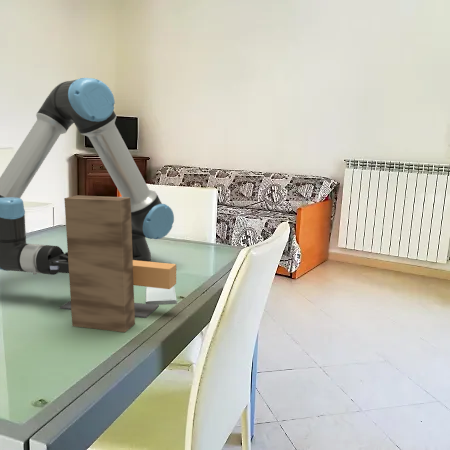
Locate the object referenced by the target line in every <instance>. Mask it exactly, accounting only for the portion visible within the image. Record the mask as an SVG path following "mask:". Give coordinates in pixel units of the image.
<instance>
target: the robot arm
mask: <svg viewBox="0 0 450 450" xmlns="http://www.w3.org/2000/svg"><path fill="white" fill-rule="evenodd" d="M115 102H116V101H115V97H114V94H113V91H112V90H111V88H110V87H109V86H108V84H106V83H104V82H103V81H102V80H100V79H98V78H92V77H80V78H78V79H73V80H65V81H63V82H60V83H59V84H57V85H56V86H55V87H54V88H53V89H52V90H51V91H50V93H49V94H48V96H47V97H46V98H45V100H44V101H43V103H42V105H41V106H40V108H39V109H38V111H37V112H36V114H35V117H36V121H35V122H34V124H33V126H32V127H31V129H30V130H29V132H28V133H27V135H26V136H25V138H24V140H23V141H22V142H21V144H20V146H19V148H18V149H17V150H16V152H15V153H14V155H13V157H12V158H11V159H10V161H9V162H8V164H7V166H6V167H5V169H4V170H3V172H2V174H1V175H0V270H2V271H7V272H9V271H10V272H23V273H32V274H33V275H34V276H35V275H37V274H43V275H51V276H52V275H57V274H60V273H61V274H69V264H68V251H67V252H64V251H63V250H62V248H61V247H60V246H59V245H50V244H49V245H48V244H37V243H27V233H26V215H25V214H26V210H25V206H24V200H23V199H22V198H21V197H22V196H23V194H24V193H25V191H26V189H27V188H28V186H29V185H30V183H31V182H32V180H33V178H34V176H36V174H37V173H38V170H39V169H40V168H41V166H42V165H43V163H44V161H45V160H46V158H47V157H48V155H49V153H50V152H51V150H52V149H53V147H54V145H55V144H56V142H57V141H58V140H59V137H60V136H61V135H62V134H66V133H67V131H68V130H69V128H70V127H71V126H72V125H73V124H74V125H75V127H76V128H77V131H78V132H79V134H80V135H82V136H86V137H87V138H88V139H89V141H90V142H91V145H92V146H93V148H94V149H95V151H96V153H97V155H98V157H99V158H100V160H101V162H102V164H103V165H104V167H105V169H106V171H107V172H108V174H109V176H110V177H111V179H112V181H113V183H114V185H115V186H116V188H117V191H118V192H119V194H120V195H121V197H128V198H131V226H132V254H133V260H137V261H148V262H151V259H152V254H151V253H152V252H151V250H150V247H149V244H148V242H147V239H150V240H151V239H152V240H160V239H163V238H165V237H166V236H167V235H168V234H169V233H170V232H171V230H172V228H173V224H174V221H175V216H174V212H173V209H172V208H171V207H170V206H169V205H168V204H166V203H162V201H161V200H160V197H159V195H158V193H157V192H156V191H155V190H151V189H149V186H148V185H147V183H146V181H145V179H144V177H143V175H142V173H141V172H140V170H139V167H138V166H137V164H136V162H135V160H134V158H133V156H132V154H131V152H130V151H129V149H128V147H127V145H126V143H125V141H124V139H123V138H122V137H123V136H122V135H121V133H120V131H119V129H118V128H117V125H116V119H117V114H116V112H115V111H114V109H115V107H114V106H115V104H116V103H115Z"/></svg>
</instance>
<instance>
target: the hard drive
mask: <svg viewBox="0 0 450 450" xmlns="http://www.w3.org/2000/svg"><path fill="white" fill-rule="evenodd" d="M145 304H152V305H159V306H160V305H176V304H178V300H177V295H176V288H175V285H174V286H173V287H172V288H170V289H163V288H154V287H145Z"/></svg>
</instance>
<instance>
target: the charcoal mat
mask: <svg viewBox="0 0 450 450" xmlns="http://www.w3.org/2000/svg"><path fill="white" fill-rule="evenodd" d="M159 306H160V305H152V304H146V303H142V302H141V303H140V302H139V303H138V302H134V311H135V318H141V319H147V318H148V317H149V316H150V315H151V314H152V313H153V312H155V311H156V310H157V309H158V308H159ZM58 308H59V309H61V310H68V311H69V310H70V311H71V300H69V301H67V302H66V303H64V304H61V306H59V307H58Z"/></svg>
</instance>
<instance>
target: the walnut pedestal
mask: <svg viewBox="0 0 450 450" xmlns="http://www.w3.org/2000/svg"><path fill="white" fill-rule="evenodd" d="M64 214H65V215H64V216H65V228H66V229H65V230H66V231H65V232H66V245H67V246H66V248H67V252H68V264H69V273H68V275H69V276H68V278H69V293H70V296H69V297H70V301H71V310H70V312H71V324H72V325H71V326H72V327H76V328H84V329H86V328H87V329H93V330H100V331H101V330H103V331H110V332H111V331H112V332H118V333H119V332H120V333H126V332H127V331H129V330H130V329H131V328H132V327H133V326H134V325H136V319H135V318H136V317H135V311H134V303H135V287H134V286H135V285H134V282H133V254H132V226H131V198H128V197H122V196H97V195H73V196H72V195H71V196H68V197H65V198H64Z"/></svg>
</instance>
